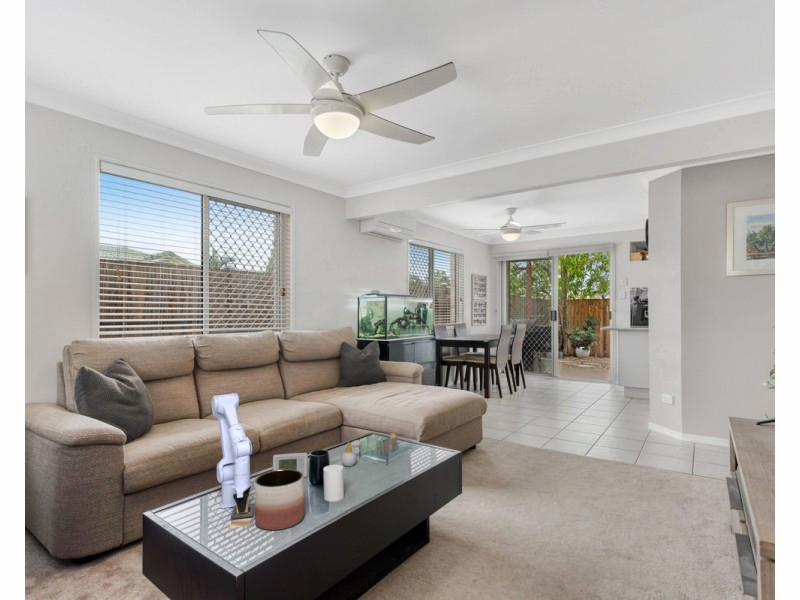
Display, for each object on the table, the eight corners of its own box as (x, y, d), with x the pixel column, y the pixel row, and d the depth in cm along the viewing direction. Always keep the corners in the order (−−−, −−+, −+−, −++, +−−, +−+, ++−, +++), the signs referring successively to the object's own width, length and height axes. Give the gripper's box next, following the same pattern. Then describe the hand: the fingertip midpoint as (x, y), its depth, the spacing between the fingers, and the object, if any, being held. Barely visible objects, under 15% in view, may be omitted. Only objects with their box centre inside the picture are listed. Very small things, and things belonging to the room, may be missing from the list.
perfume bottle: (338, 465, 219) (337, 441, 219) (353, 460, 226) (352, 437, 226) (348, 469, 214) (347, 444, 214) (363, 464, 221) (362, 440, 221)
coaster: (231, 522, 163) (231, 520, 163) (251, 519, 165) (251, 517, 165) (229, 528, 158) (229, 526, 158) (249, 525, 160) (249, 524, 160)
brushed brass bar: (238, 514, 169) (237, 496, 169) (249, 513, 170) (248, 494, 170) (236, 519, 165) (236, 500, 166) (247, 517, 166) (247, 499, 166)
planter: (306, 527, 158) (305, 482, 158) (254, 535, 153) (253, 490, 153) (302, 506, 175) (301, 466, 175) (255, 513, 170) (255, 472, 170)
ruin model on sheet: (393, 450, 243) (392, 432, 243) (397, 451, 241) (397, 433, 241) (379, 455, 234) (379, 437, 234) (383, 456, 232) (383, 438, 232)
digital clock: (270, 481, 202) (270, 457, 202) (277, 473, 211) (276, 451, 211) (305, 481, 201) (304, 457, 201) (310, 473, 210) (310, 451, 210)
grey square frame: (234, 510, 173) (234, 505, 173) (255, 507, 175) (255, 503, 175) (230, 521, 164) (230, 516, 164) (253, 518, 166) (253, 513, 166)
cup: (336, 491, 188) (335, 463, 188) (347, 496, 182) (347, 467, 183) (320, 497, 182) (319, 468, 183) (331, 503, 177) (331, 473, 177)
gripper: (233, 467, 174) (234, 502, 174) (227, 481, 160) (228, 519, 160) (252, 465, 176) (253, 500, 176) (248, 479, 162) (249, 516, 161)
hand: (242, 509), depth 168 cm, fingers open, 5 cm apart
